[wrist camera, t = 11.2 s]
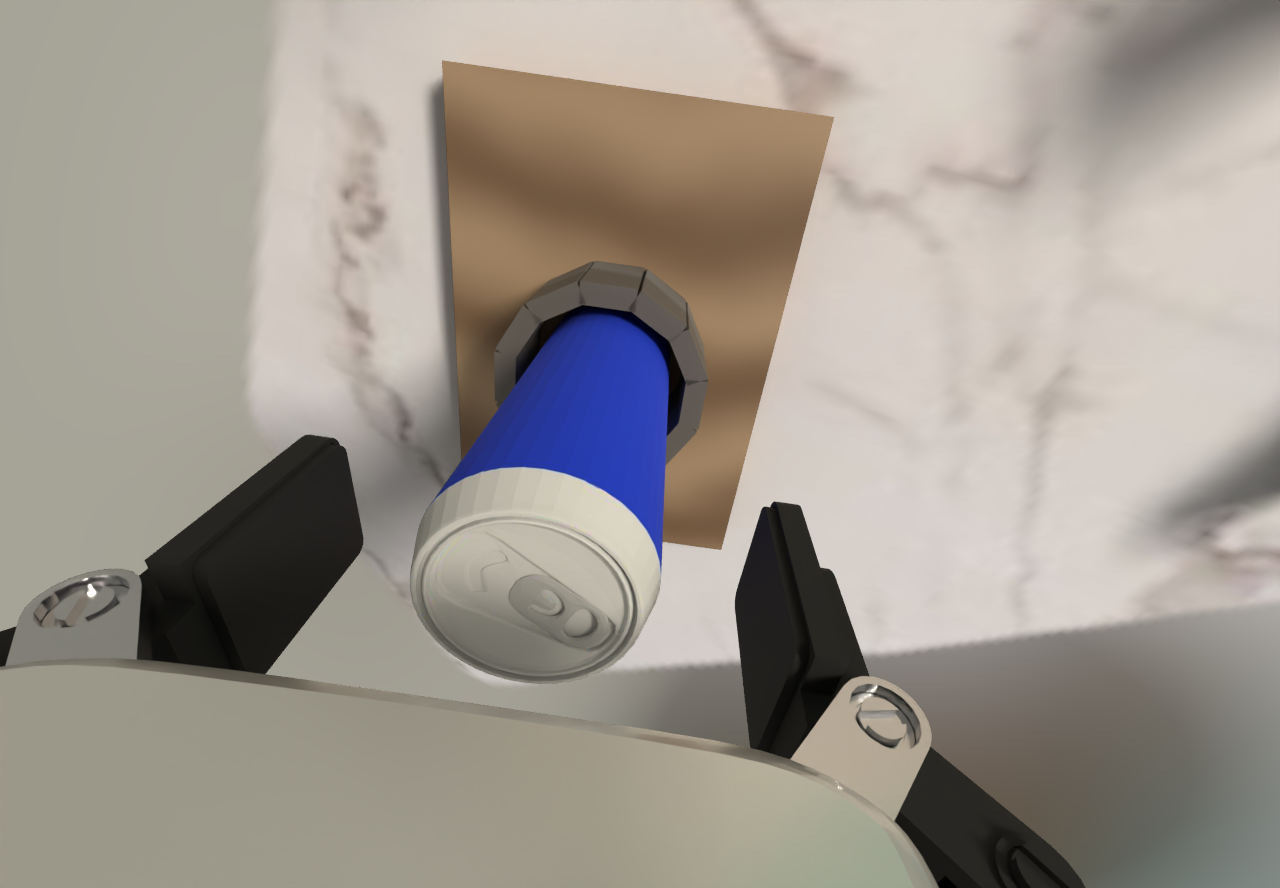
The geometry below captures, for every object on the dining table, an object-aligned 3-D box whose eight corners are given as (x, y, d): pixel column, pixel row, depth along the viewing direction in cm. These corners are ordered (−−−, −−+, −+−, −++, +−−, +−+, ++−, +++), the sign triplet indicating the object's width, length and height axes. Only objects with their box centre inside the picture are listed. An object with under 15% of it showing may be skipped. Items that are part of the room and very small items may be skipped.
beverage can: (533, 364, 24) (355, 621, 11) (594, 268, 21) (463, 443, 8) (627, 425, 25) (570, 723, 12) (693, 340, 23) (715, 591, 10)
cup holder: (457, 66, 20) (386, 38, 15) (823, 119, 20) (870, 107, 15) (473, 497, 29) (434, 564, 25) (719, 532, 29) (726, 605, 25)
